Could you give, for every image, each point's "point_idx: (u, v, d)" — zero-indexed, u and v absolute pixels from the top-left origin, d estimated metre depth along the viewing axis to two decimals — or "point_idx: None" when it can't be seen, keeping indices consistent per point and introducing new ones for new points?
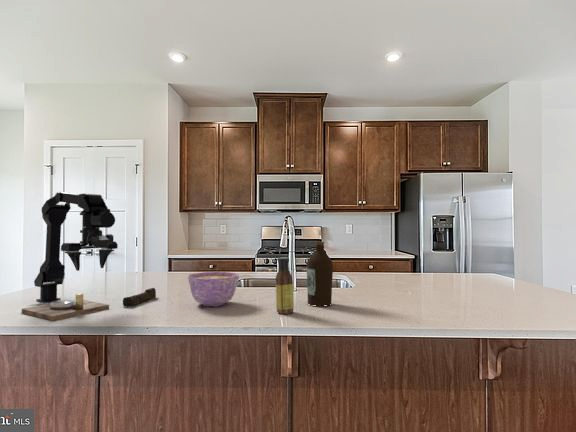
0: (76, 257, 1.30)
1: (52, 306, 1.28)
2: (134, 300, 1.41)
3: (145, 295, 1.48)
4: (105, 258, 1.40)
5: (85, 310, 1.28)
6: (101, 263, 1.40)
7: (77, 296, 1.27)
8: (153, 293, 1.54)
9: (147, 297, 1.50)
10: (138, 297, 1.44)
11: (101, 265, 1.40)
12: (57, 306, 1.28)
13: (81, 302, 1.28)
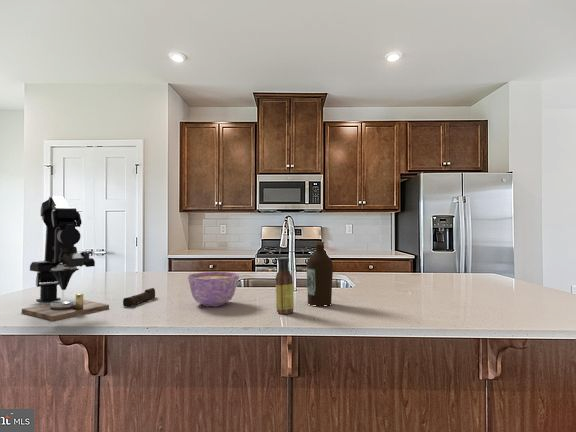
0: (61, 276, 1.22)
1: (52, 306, 1.28)
2: (134, 300, 1.41)
3: (145, 295, 1.48)
4: (68, 278, 1.24)
5: (85, 310, 1.28)
6: None
7: (77, 296, 1.27)
8: (153, 293, 1.54)
9: (147, 297, 1.50)
10: (138, 297, 1.44)
11: None
12: (57, 306, 1.28)
13: (81, 302, 1.28)
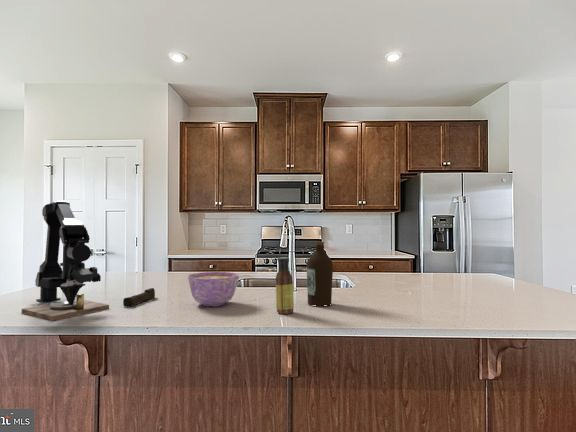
0: (70, 291, 1.25)
1: (52, 306, 1.28)
2: (134, 300, 1.41)
3: (145, 295, 1.48)
4: (75, 294, 1.26)
5: (85, 310, 1.28)
6: None
7: (78, 296, 1.28)
8: (152, 293, 1.54)
9: (147, 297, 1.50)
10: (138, 297, 1.44)
11: None
12: (57, 306, 1.28)
13: (82, 302, 1.28)
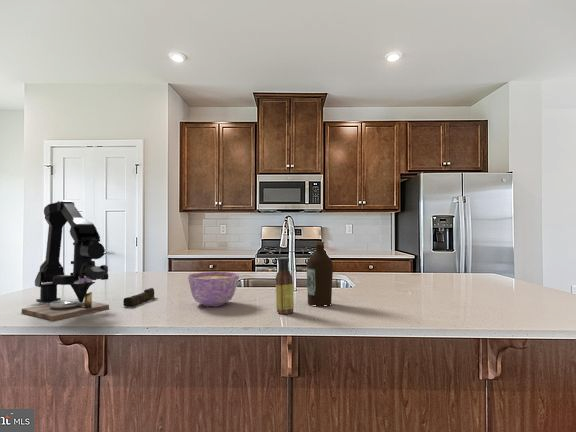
0: (81, 288, 1.28)
1: (57, 306, 1.28)
2: (135, 300, 1.41)
3: (145, 295, 1.48)
4: (85, 291, 1.30)
5: (85, 310, 1.28)
6: (80, 297, 1.29)
7: (87, 294, 1.31)
8: (152, 293, 1.54)
9: (146, 297, 1.50)
10: (138, 297, 1.44)
11: (80, 299, 1.29)
12: (64, 306, 1.28)
13: (91, 300, 1.32)
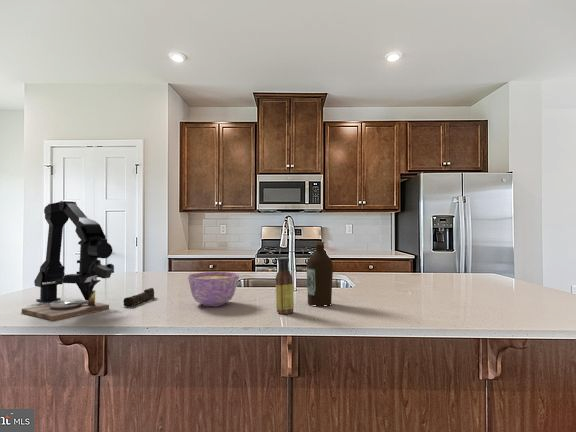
0: (88, 287, 1.31)
1: (64, 306, 1.28)
2: (135, 300, 1.41)
3: (145, 295, 1.48)
4: (91, 289, 1.33)
5: (85, 310, 1.28)
6: None
7: (92, 292, 1.35)
8: (152, 293, 1.54)
9: (146, 297, 1.50)
10: (138, 297, 1.44)
11: (86, 297, 1.33)
12: (71, 305, 1.29)
13: None
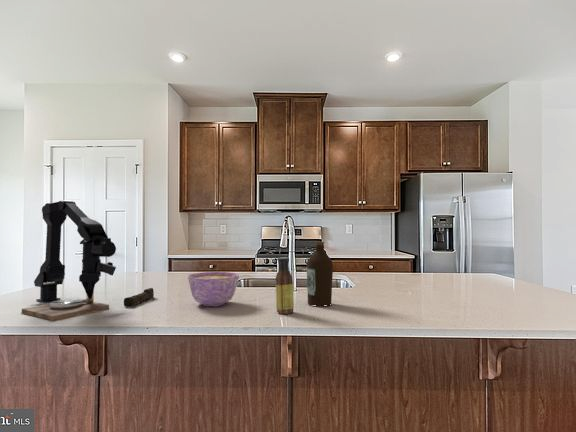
0: (94, 285, 1.36)
1: (72, 305, 1.29)
2: (135, 300, 1.41)
3: (144, 295, 1.48)
4: None
5: (85, 310, 1.28)
6: (89, 294, 1.36)
7: None
8: (151, 293, 1.54)
9: (146, 297, 1.50)
10: (138, 297, 1.44)
11: (90, 295, 1.36)
12: (78, 304, 1.31)
13: None
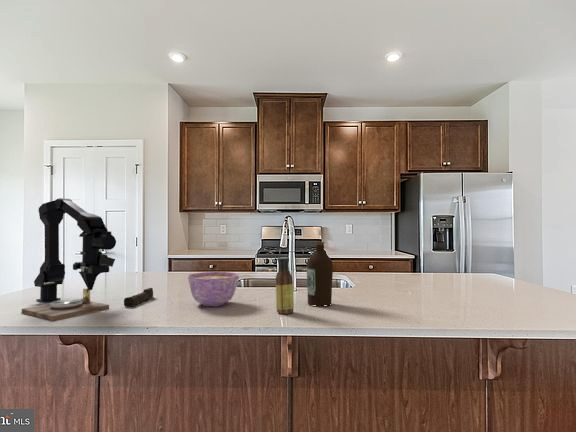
0: None
1: (76, 304, 1.31)
2: (135, 300, 1.41)
3: (144, 295, 1.48)
4: None
5: (85, 310, 1.28)
6: None
7: None
8: (151, 293, 1.54)
9: (146, 297, 1.50)
10: (138, 297, 1.44)
11: None
12: (80, 303, 1.33)
13: None
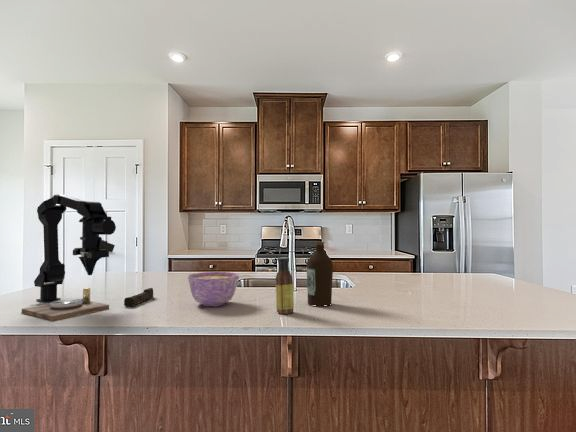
0: None
1: (76, 304, 1.31)
2: (135, 300, 1.41)
3: (145, 295, 1.48)
4: None
5: (85, 310, 1.28)
6: None
7: (89, 289, 1.40)
8: (151, 293, 1.54)
9: (146, 297, 1.50)
10: (139, 297, 1.44)
11: None
12: (80, 303, 1.33)
13: None
